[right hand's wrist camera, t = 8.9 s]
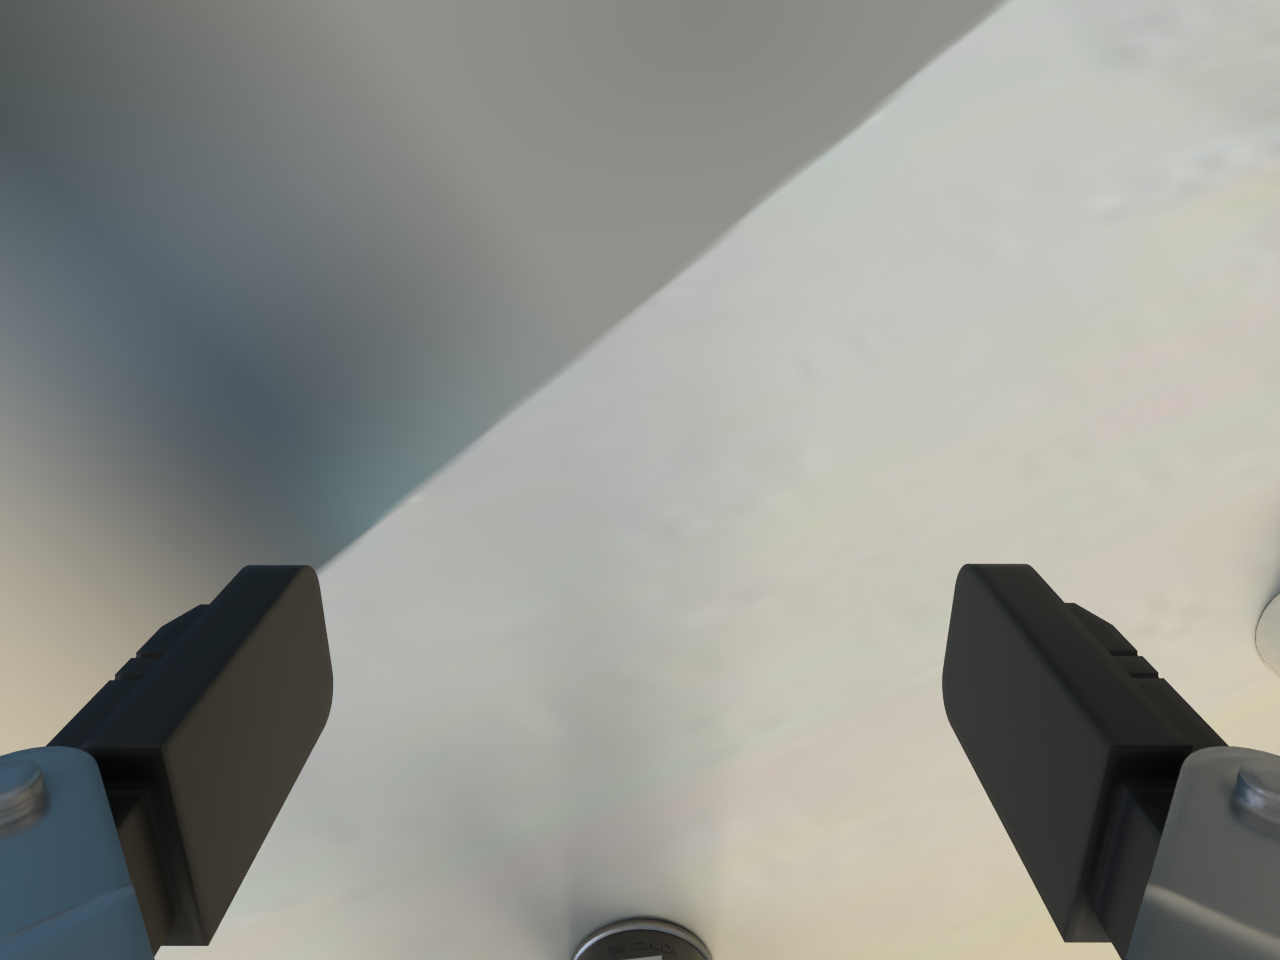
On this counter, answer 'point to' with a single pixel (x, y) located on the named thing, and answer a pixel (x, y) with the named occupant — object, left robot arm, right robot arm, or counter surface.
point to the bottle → (1270, 635)
